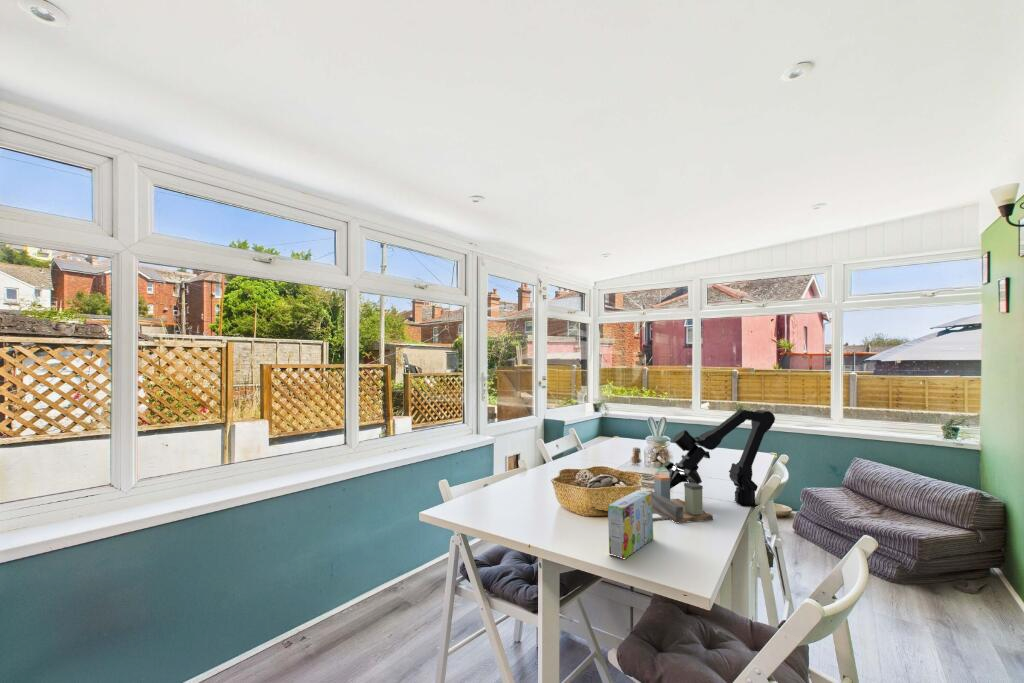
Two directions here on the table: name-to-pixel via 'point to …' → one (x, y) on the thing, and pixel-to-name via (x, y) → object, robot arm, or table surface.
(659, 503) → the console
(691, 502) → the tall green block
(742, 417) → the robot arm
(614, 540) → the snack box
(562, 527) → the table surface
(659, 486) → the orange-capped grey pillar
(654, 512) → the card
